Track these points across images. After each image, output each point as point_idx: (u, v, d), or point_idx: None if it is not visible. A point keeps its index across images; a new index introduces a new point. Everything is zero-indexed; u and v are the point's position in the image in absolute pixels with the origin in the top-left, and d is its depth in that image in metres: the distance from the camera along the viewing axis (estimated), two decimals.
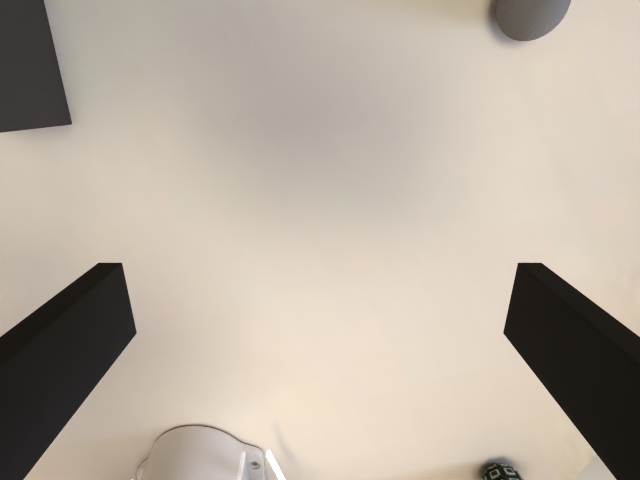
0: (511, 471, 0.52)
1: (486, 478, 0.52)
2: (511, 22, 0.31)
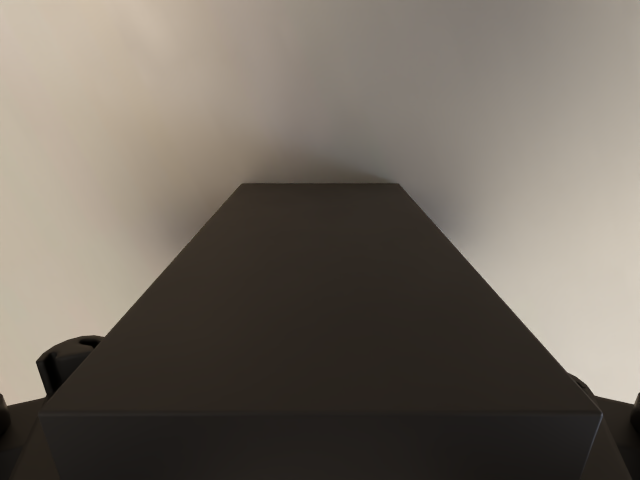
0: None
1: None
2: None
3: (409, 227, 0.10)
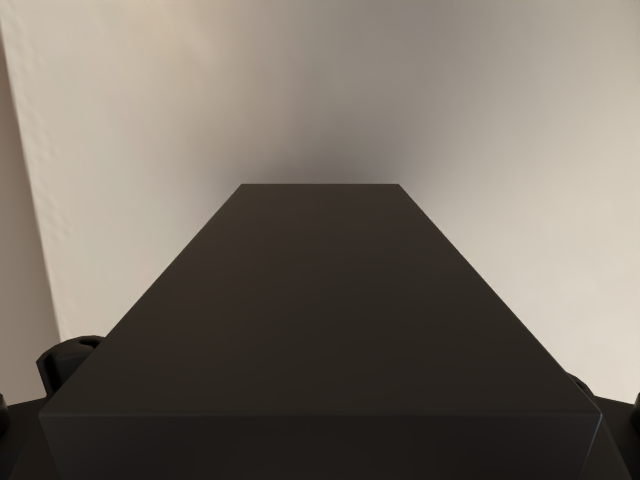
0: None
1: None
2: None
3: (409, 227, 0.10)
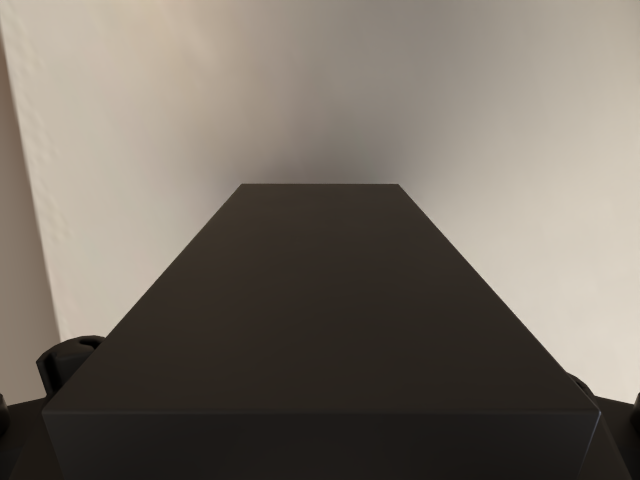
0: None
1: None
2: None
3: (409, 227, 0.10)
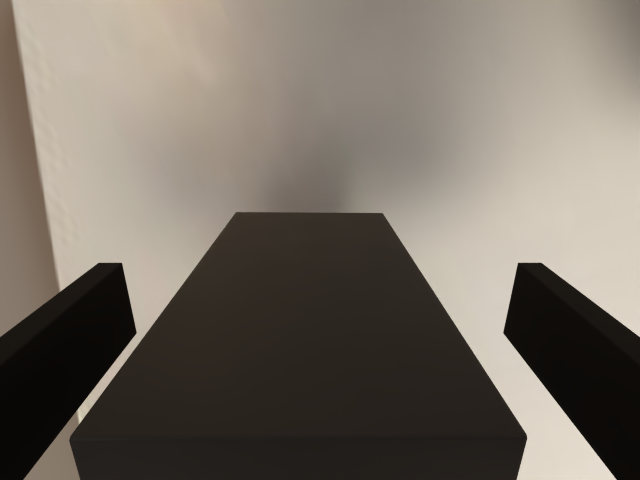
0: None
1: None
2: None
3: (388, 260, 0.11)
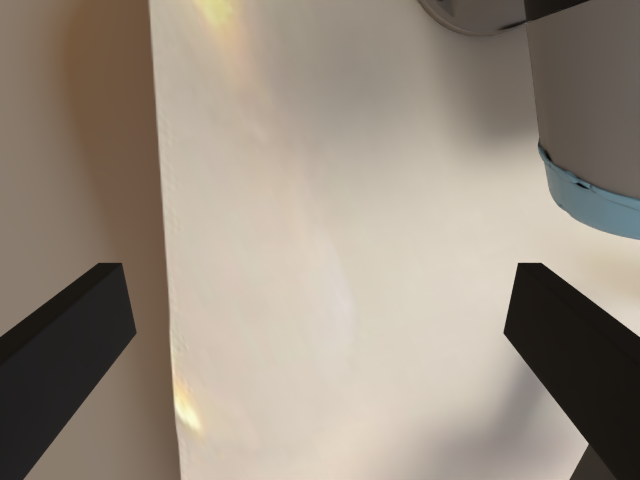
0: None
1: None
2: None
3: None
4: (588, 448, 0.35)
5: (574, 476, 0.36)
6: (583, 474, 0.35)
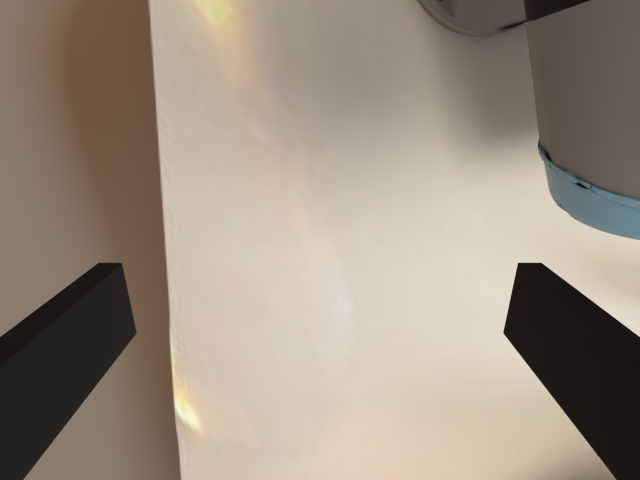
0: None
1: None
2: None
3: None
4: None
5: None
6: None
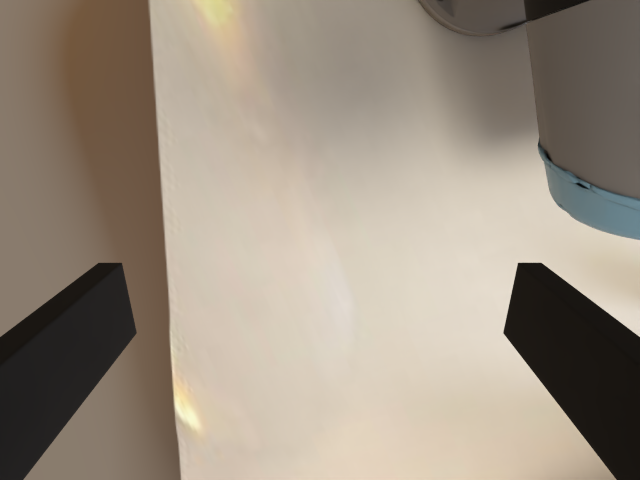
0: None
1: None
2: None
3: None
4: None
5: None
6: None
